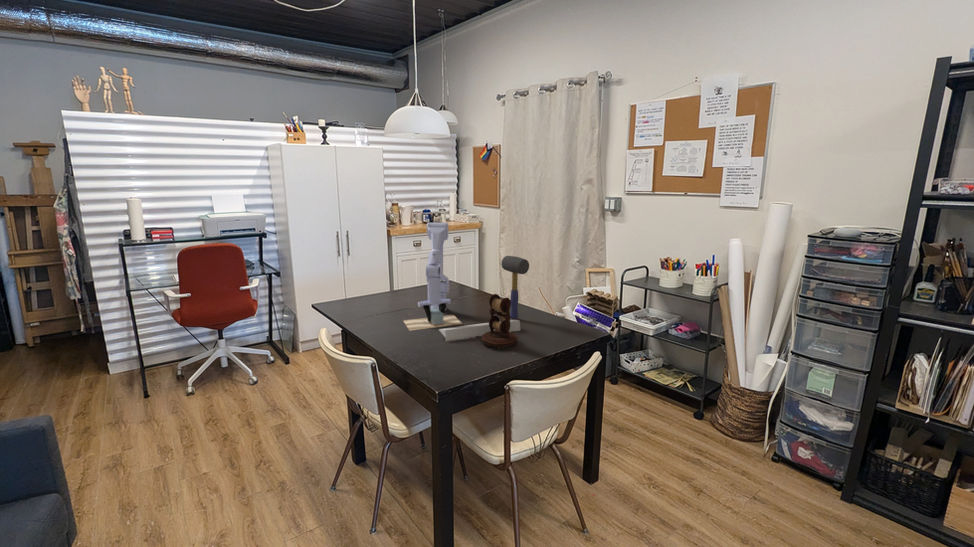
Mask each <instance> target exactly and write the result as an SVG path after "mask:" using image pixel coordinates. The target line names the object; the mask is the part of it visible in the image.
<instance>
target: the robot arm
mask: <svg viewBox="0 0 974 547" xmlns="http://www.w3.org/2000/svg"><path fill="white" fill-rule="evenodd" d="M426 234H427V237H428V240H430V241H431V250H430V251H429V252H428V256H427V257H428V258H427V265H426V267H425V276H426V282H427V300H422V301H417V306H418V308H421V307H422V308H423V310H424V312H425V314H426V318H427V319H428V322H430V309H438V310H439V311H441V312H442V313H443V314H444V313H445V311H447V305H451V302H452V300H451V298H447V295H448V294H449V293H450V282H449V277H448V276H446V275H445V274H444V243H445V241H447V240H448V239H449V223H448V222H447V221H445V222H427V224H426Z"/></svg>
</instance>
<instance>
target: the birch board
mask: <svg viewBox="0 0 974 547" xmlns="http://www.w3.org/2000/svg"><path fill="white" fill-rule="evenodd" d="M402 321H403V323H404V324H405V326H406V327H407V329H408V331H411V332H412V331H418V330H425V329H426V330H427V329H434V328H443V327H444V328H445V327H450V326H451V327H452V326H459V325H463V322H462V321H460V320H459V318H457V317H456V316H455V314H449V315H448V314H447V315H443V324H442V325H435V326H434V325H432V324H431V323H430V322H428V319H427V317H422V318H413V319H404V320H403V319H402Z"/></svg>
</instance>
